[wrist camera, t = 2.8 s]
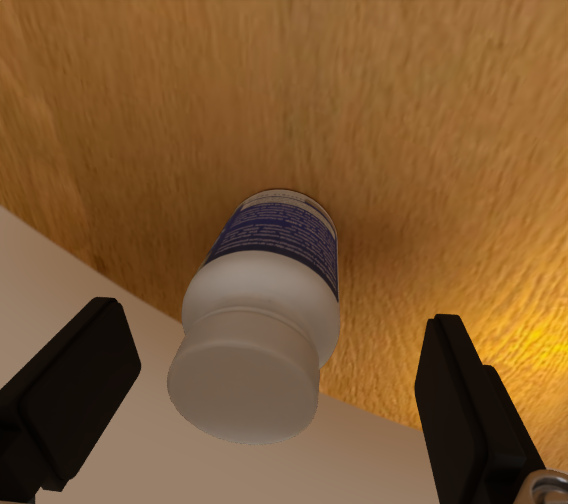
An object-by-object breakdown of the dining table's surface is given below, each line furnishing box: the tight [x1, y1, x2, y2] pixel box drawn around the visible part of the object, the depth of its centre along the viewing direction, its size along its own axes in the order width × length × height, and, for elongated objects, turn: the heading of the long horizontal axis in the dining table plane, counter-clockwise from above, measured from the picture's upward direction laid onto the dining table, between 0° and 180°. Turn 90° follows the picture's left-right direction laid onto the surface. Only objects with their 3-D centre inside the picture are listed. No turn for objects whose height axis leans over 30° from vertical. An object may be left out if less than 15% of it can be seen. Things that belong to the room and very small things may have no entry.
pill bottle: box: [167, 189, 340, 445], centre depth 13 cm, size 5×5×9 cm
